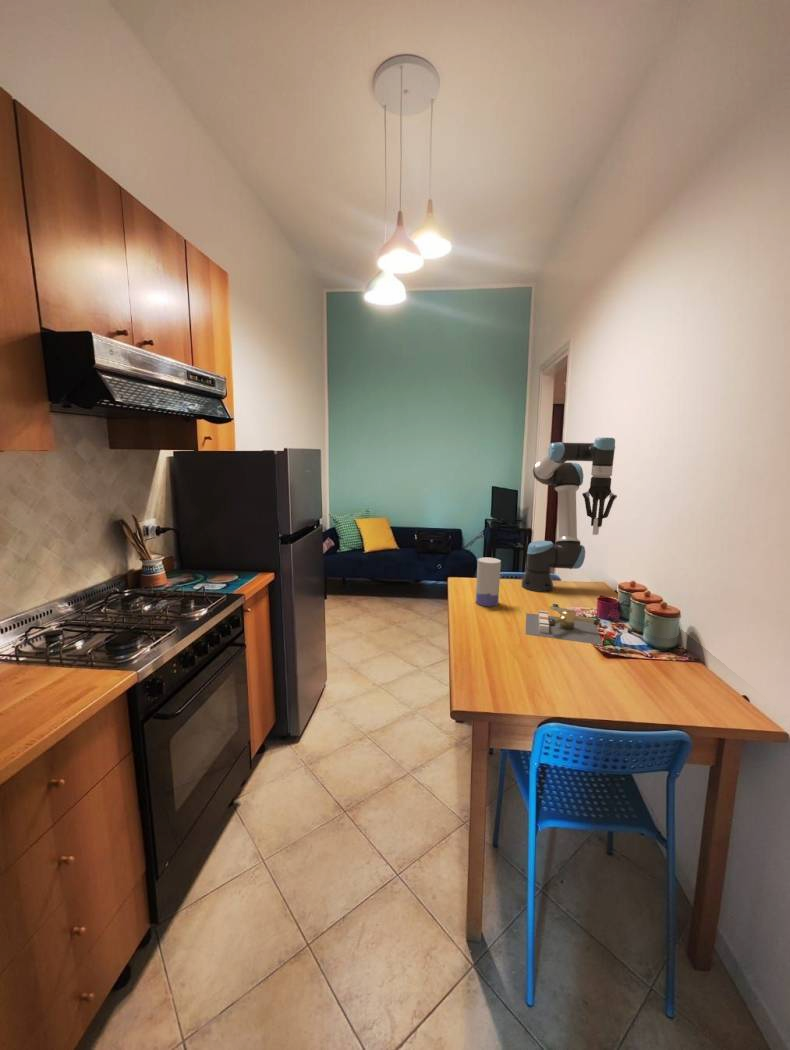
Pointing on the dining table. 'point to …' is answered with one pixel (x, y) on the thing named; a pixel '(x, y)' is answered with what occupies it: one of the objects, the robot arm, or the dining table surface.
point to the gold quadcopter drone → (569, 618)
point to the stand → (561, 629)
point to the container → (488, 581)
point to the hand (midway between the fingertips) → (595, 534)
